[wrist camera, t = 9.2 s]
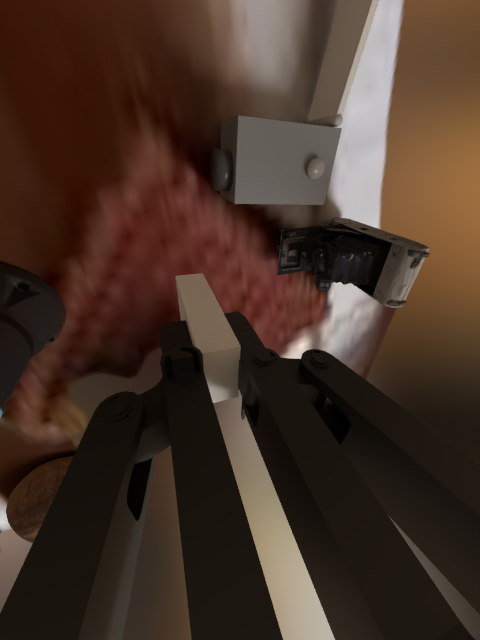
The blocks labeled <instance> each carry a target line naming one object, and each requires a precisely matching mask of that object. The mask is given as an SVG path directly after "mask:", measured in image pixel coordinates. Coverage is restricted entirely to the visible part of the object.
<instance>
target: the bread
mask: <svg viewBox="0 0 480 640" xmlns="http://www.w3.org/2000/svg"><path fill="white" fill-rule="evenodd" d="M72 459H73V456H69V457H64V458H59V459H55V460H52V461H49V462H47V463H44V464H42V465H40V466H38V467H37V468H35V469H34V470H33V471H31V472H30V473H29V474H28V475H27V476H26V477H24V478H23V479H22V480H21V482H20V483H19V484H18V485H17V486H16V487H15V489H14V490H13V492H12V493H11V495H10V497H9V500H8V504H7V509H6V513H7V518H8V522H9V524H10V526H11V528H12V529H13V530H14V531H15V533H17V534H18V535H19V536H20V537H22V538H23V539H25V540H27V541H29V542H32V543H33V542H34V540H35V538H36V536H37V534H38V532H39V529H40V527H41V525H42V523H43V521H44V519H45V516H46V514H47V512H48V510H49V508H50V506H51V504H52V501H53V499H54V497H55V495H56V493H57V491H58V489H59V486H60V484H61V482H62V480H63V478H64V476H65V474H66V471H67V469H68V467H69V465H70V463H71V461H72Z"/></svg>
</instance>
